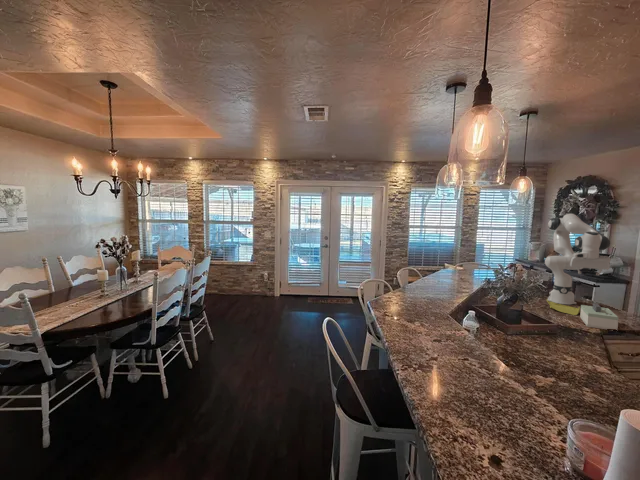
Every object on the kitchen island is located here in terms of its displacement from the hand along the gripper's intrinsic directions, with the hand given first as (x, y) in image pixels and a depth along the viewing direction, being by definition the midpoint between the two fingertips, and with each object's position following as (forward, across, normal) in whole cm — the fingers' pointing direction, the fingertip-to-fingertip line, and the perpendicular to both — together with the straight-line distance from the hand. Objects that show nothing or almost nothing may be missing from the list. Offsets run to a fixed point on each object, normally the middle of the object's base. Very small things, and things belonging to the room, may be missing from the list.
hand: (588, 274), depth 200 cm
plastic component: (+32, +11, -10) cm, 35 cm away
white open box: (+31, -4, +12) cm, 33 cm away
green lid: (+24, -4, +12) cm, 27 cm away
